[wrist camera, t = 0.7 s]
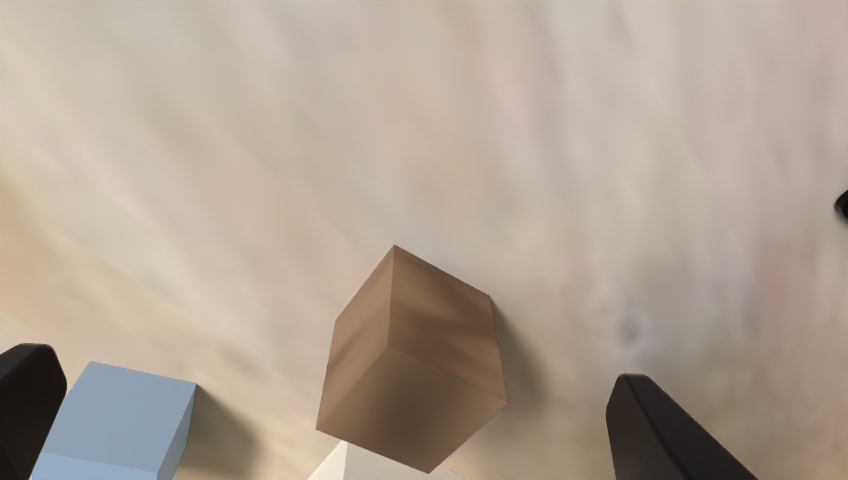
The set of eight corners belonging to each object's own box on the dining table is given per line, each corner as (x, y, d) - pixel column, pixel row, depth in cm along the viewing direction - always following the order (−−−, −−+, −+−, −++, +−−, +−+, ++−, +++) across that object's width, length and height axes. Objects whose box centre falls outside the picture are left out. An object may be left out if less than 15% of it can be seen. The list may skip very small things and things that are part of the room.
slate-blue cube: (197, 382, 27) (157, 473, 23) (187, 443, 30) (149, 534, 26) (91, 359, 26) (29, 449, 22) (90, 424, 29) (34, 515, 25)
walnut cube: (489, 295, 25) (507, 402, 20) (426, 362, 27) (428, 474, 22) (394, 243, 23) (387, 346, 18) (335, 319, 25) (315, 429, 20)
